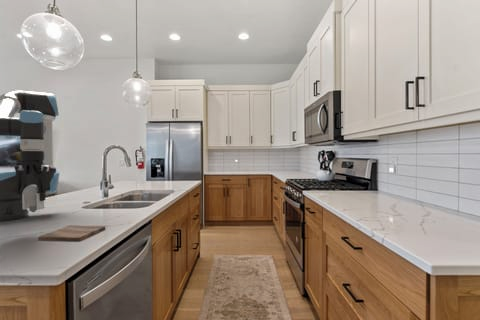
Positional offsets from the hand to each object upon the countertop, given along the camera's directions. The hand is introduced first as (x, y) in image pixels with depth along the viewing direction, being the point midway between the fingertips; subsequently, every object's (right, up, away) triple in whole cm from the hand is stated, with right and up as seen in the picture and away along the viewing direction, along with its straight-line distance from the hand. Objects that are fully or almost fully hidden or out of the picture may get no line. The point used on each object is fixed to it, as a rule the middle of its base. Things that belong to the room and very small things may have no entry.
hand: (33, 208), depth 109 cm
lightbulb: (0, -2, 0) cm, 2 cm away
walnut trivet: (+17, -10, -2) cm, 20 cm away
